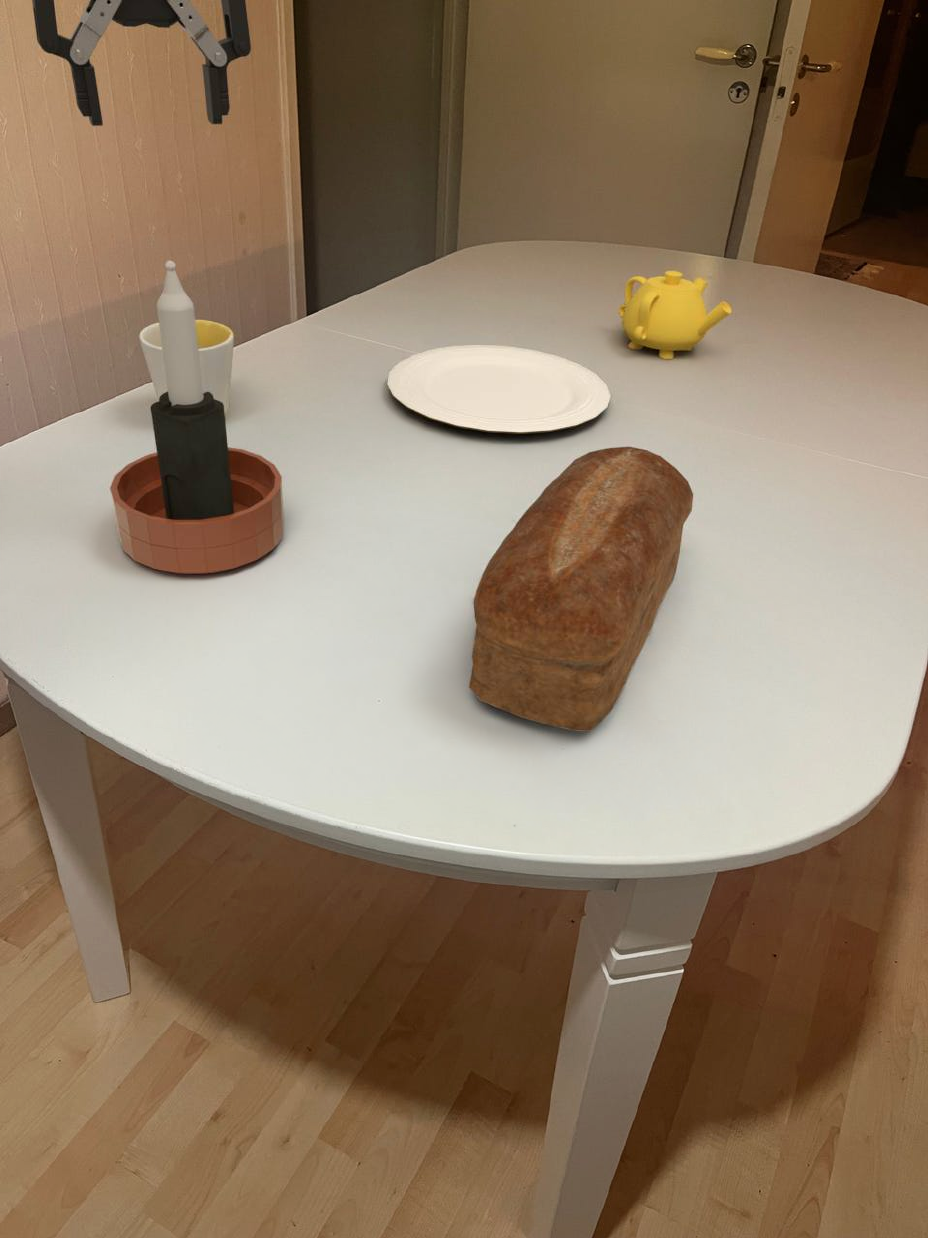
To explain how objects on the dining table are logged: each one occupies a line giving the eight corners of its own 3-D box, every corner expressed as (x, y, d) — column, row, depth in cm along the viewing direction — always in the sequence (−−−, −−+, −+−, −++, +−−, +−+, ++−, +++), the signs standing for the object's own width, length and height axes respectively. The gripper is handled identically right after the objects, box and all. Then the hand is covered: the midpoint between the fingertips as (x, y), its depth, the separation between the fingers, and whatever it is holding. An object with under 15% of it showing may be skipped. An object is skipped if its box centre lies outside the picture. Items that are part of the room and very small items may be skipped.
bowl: (134, 594, 81) (124, 535, 77) (110, 512, 92) (100, 457, 88) (303, 563, 86) (300, 507, 83) (262, 489, 97) (258, 437, 94)
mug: (205, 445, 105) (195, 355, 99) (133, 425, 108) (119, 337, 102) (273, 404, 115) (268, 320, 109) (205, 387, 118) (197, 305, 112)
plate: (573, 465, 106) (575, 450, 105) (347, 413, 114) (347, 399, 113) (631, 381, 129) (633, 368, 128) (439, 343, 137) (440, 330, 136)
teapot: (721, 366, 136) (738, 288, 130) (630, 363, 135) (643, 284, 128) (694, 333, 148) (709, 260, 141) (610, 330, 146) (621, 257, 140)
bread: (444, 713, 71) (453, 565, 63) (568, 532, 94) (586, 408, 86) (596, 764, 67) (626, 614, 59) (686, 563, 91) (716, 436, 83)
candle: (241, 528, 89) (216, 260, 75) (202, 550, 86) (168, 273, 71) (202, 512, 91) (171, 248, 77) (163, 532, 88) (122, 260, 73)
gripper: (220, -150, 64) (240, 114, 74) (-4, -172, 59) (49, 115, 68) (246, -154, 59) (264, 131, 68) (1, -179, 53) (58, 133, 63)
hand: (156, 123), depth 68 cm, fingers open, 8 cm apart
